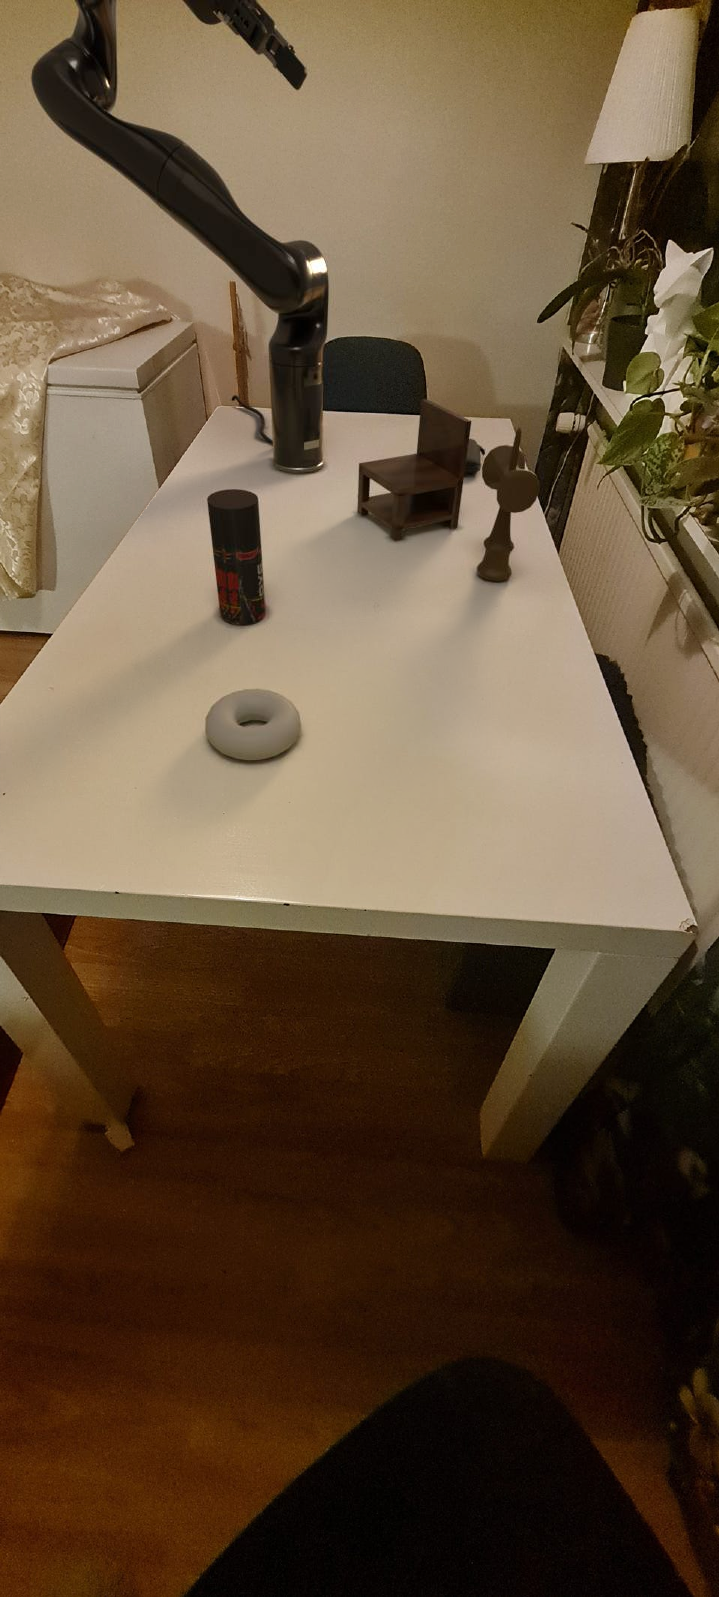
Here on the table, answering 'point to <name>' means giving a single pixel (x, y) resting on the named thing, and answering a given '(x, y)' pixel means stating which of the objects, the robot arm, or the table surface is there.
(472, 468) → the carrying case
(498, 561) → the kendama
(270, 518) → the table surface
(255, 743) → the donut
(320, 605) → the table surface
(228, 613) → the deodorant
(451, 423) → the miniature wooden chair
